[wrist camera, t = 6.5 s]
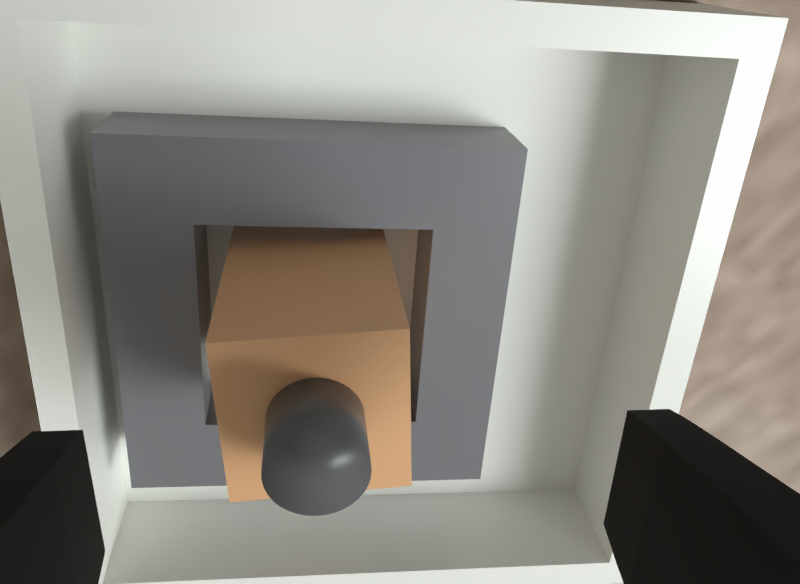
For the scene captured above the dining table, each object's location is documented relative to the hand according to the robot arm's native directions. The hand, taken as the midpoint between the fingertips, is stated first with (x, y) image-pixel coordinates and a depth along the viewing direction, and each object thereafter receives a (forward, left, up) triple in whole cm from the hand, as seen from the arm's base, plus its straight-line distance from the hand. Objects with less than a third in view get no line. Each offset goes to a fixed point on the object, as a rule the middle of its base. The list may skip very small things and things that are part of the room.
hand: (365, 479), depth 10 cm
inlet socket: (+1, +2, -10) cm, 10 cm away
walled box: (-1, +2, -10) cm, 10 cm away
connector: (+1, +1, -9) cm, 9 cm away
